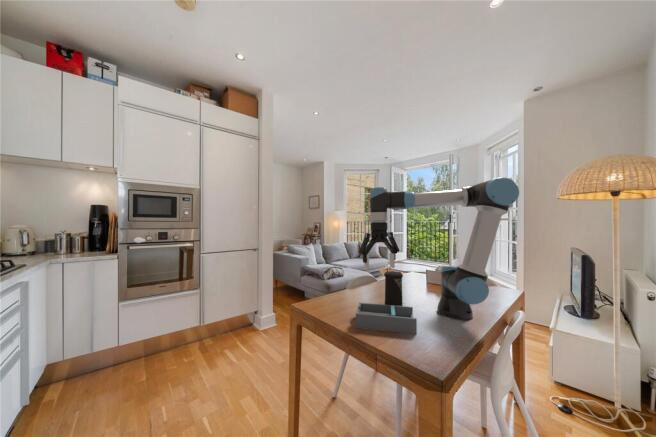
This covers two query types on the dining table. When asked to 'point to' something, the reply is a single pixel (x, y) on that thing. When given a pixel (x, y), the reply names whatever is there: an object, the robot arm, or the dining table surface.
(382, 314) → the pusher
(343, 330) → the dining table surface
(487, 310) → the dining table surface
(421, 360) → the dining table surface
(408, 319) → the grey shallow rectangular box
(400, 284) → the container
